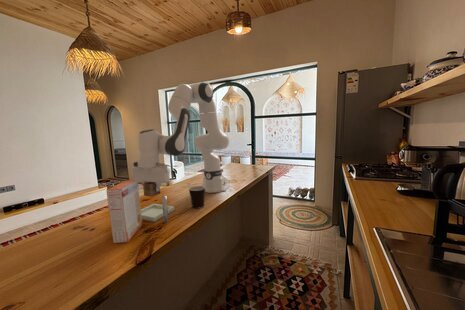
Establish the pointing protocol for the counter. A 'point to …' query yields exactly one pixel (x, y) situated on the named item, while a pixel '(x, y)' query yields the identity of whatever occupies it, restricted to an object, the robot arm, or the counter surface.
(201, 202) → the coffee mug
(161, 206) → the sage dish
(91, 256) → the counter surface
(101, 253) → the counter surface
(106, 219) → the counter surface
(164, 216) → the rod
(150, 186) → the walnut block
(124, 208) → the cracker box
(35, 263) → the counter surface
